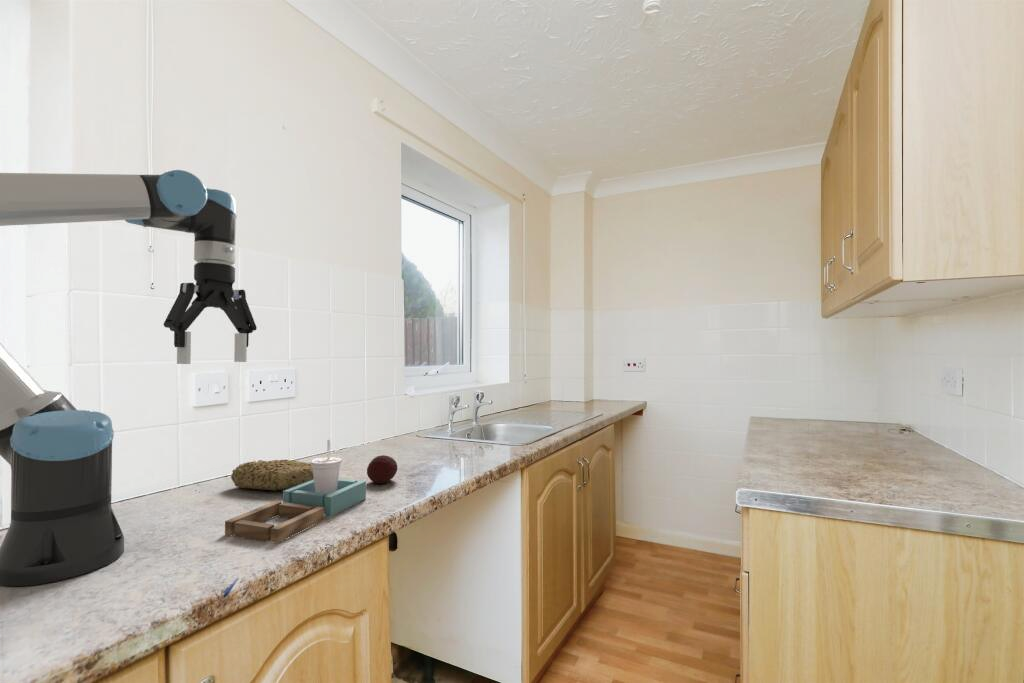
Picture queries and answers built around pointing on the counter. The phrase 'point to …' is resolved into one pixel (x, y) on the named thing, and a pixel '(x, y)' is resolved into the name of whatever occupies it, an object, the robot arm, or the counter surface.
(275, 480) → the sponge
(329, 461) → the smoothie
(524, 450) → the counter surface
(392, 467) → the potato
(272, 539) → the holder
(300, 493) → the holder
